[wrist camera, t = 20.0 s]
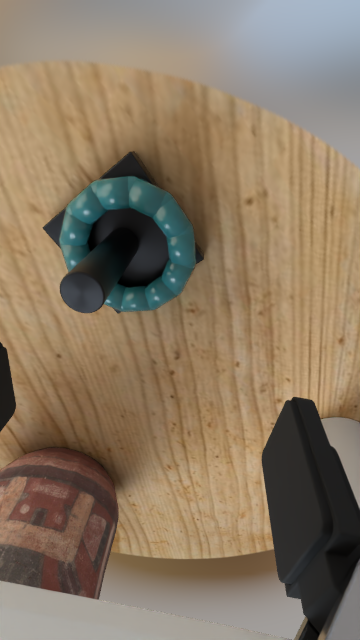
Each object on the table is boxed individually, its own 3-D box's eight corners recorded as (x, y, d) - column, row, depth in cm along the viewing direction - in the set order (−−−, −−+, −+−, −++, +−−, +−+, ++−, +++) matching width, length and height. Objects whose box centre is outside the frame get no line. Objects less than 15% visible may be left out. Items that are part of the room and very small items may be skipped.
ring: (139, 142, 20) (132, 142, 19) (221, 262, 24) (221, 272, 22) (41, 230, 24) (27, 237, 22) (125, 323, 27) (119, 335, 26)
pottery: (-23, 433, 39) (-175, 626, 23) (109, 427, 36) (35, 640, 21) (32, 510, 48) (-54, 689, 32) (141, 510, 45) (106, 705, 30)
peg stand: (134, 150, 22) (83, 157, 13) (204, 254, 25) (201, 316, 16) (48, 224, 25) (-40, 270, 16) (121, 307, 28) (81, 383, 19)
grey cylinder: (280, 454, 36) (308, 579, 26) (317, 408, 32) (368, 534, 22) (341, 472, 37) (393, 601, 27) (386, 430, 33) (466, 562, 23)
